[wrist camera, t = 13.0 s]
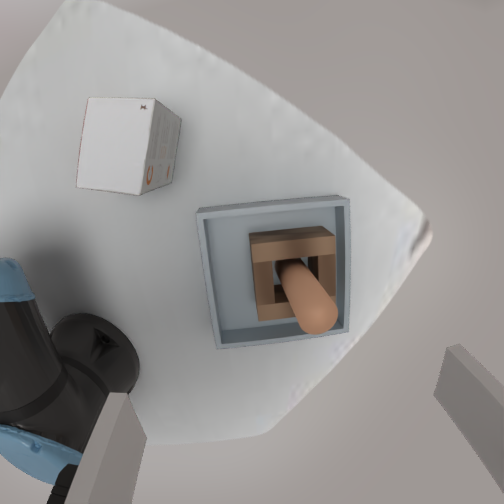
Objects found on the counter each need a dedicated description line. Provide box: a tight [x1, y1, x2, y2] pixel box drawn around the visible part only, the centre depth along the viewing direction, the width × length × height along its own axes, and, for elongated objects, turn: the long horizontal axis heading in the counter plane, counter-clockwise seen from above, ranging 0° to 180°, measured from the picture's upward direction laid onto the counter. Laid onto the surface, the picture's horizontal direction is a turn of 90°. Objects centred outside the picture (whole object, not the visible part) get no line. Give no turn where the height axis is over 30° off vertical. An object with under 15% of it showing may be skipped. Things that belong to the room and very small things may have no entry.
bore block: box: [249, 226, 336, 321], centre depth 37 cm, size 9×9×5 cm
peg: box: [275, 258, 338, 335], centre depth 32 cm, size 4×4×14 cm
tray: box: [196, 195, 351, 349], centre depth 38 cm, size 17×17×4 cm
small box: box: [76, 97, 181, 196], centre depth 29 cm, size 8×6×13 cm
